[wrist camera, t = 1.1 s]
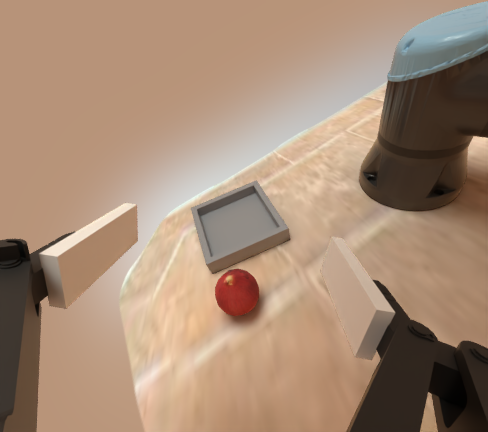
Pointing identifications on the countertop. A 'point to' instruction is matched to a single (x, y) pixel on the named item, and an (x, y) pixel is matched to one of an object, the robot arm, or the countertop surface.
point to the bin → (238, 226)
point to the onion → (237, 292)
